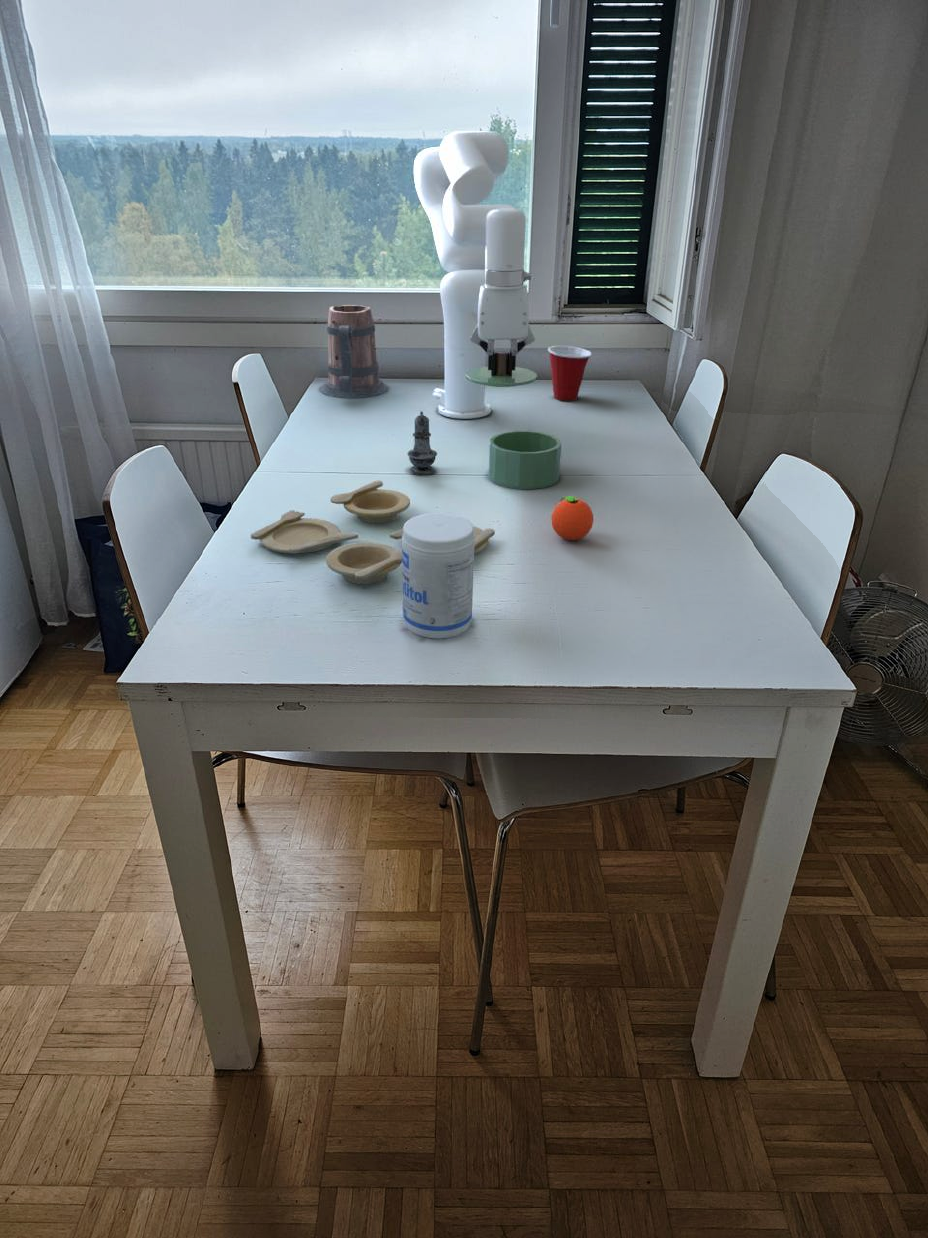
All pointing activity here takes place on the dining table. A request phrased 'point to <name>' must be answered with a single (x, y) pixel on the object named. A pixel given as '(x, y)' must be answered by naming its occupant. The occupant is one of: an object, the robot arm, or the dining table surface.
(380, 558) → the tableware set
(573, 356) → the plastic cup
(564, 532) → the clementine
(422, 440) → the salt shaker
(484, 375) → the lid
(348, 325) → the tankard
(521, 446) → the bowl
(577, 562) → the dining table surface
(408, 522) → the supplement tub
